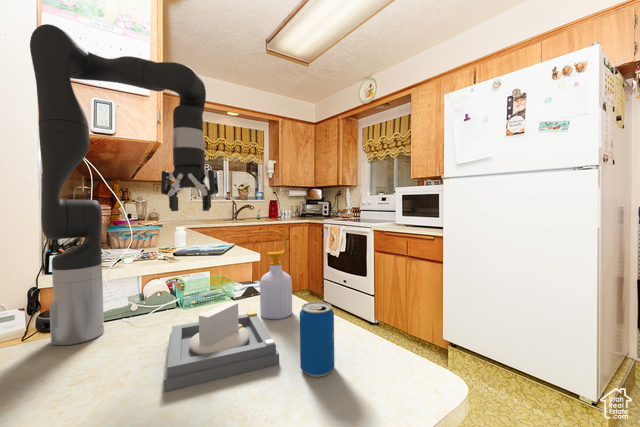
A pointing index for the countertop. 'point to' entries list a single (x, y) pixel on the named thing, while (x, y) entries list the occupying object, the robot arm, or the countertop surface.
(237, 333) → the dial knob
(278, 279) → the soap bottle
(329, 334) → the beverage can
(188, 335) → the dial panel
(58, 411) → the countertop surface
